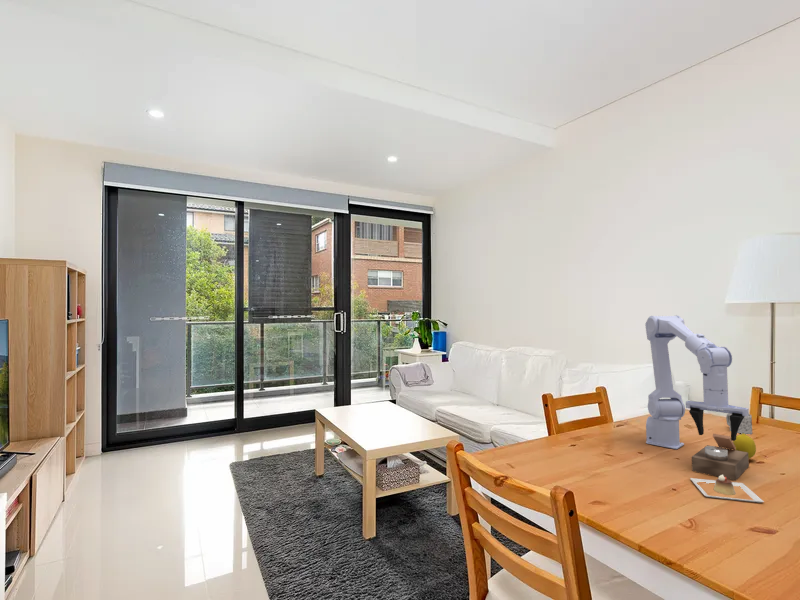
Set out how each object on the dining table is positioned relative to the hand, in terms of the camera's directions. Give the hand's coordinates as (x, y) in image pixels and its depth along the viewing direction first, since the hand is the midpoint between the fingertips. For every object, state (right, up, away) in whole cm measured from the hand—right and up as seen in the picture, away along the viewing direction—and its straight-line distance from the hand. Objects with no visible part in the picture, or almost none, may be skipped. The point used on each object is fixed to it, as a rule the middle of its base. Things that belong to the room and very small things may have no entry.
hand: (717, 437), depth 123 cm
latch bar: (+5, -3, +4) cm, 8 cm away
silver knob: (-1, -9, -1) cm, 9 cm away
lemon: (+14, -10, +8) cm, 19 cm away
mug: (+37, -11, +40) cm, 56 cm away
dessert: (-9, -10, -14) cm, 20 cm away
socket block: (+2, -10, +1) cm, 10 cm away
